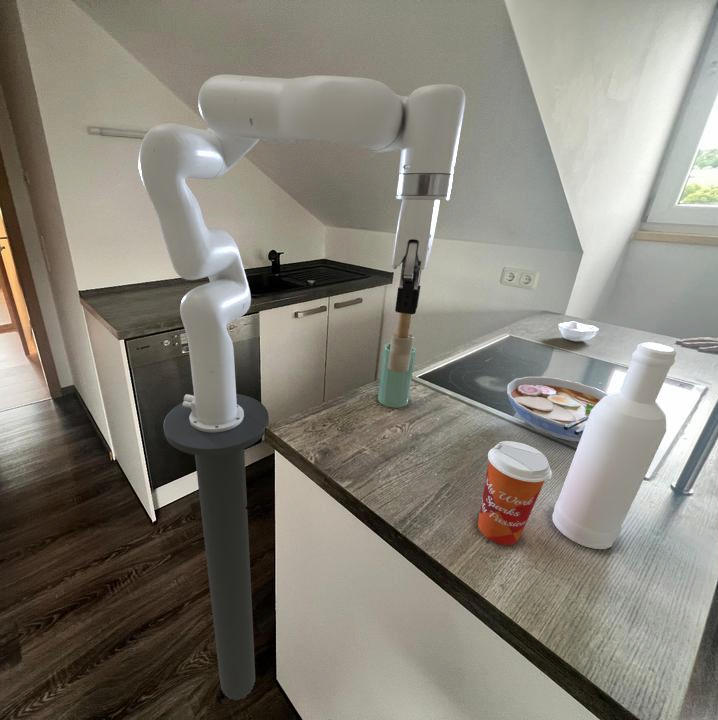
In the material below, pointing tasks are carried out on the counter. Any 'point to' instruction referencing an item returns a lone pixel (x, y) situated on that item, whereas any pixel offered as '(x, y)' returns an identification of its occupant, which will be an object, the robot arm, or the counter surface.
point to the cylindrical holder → (394, 382)
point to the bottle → (615, 452)
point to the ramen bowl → (554, 404)
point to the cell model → (577, 331)
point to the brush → (401, 345)
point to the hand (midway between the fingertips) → (406, 309)
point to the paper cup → (511, 490)
